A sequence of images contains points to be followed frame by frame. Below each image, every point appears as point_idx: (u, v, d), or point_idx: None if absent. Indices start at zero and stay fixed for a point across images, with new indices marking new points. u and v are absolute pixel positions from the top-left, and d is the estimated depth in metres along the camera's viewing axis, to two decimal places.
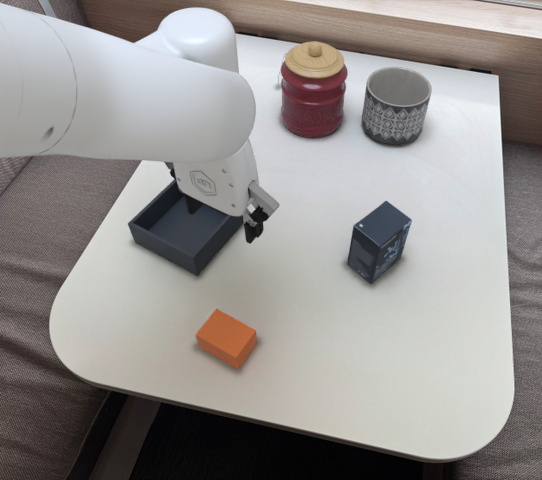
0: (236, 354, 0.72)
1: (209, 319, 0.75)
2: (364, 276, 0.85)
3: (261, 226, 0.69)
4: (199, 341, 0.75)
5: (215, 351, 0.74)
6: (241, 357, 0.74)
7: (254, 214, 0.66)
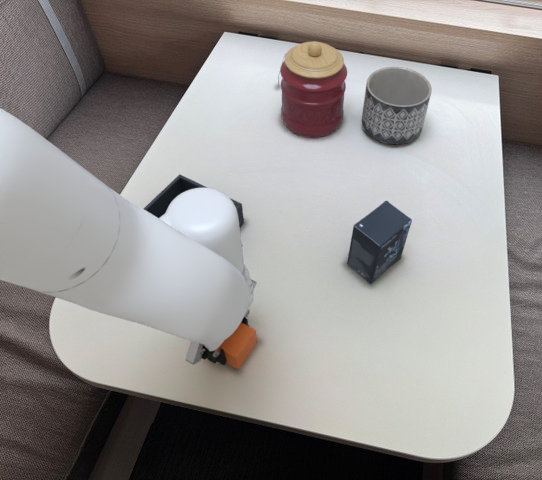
0: (236, 354, 0.72)
1: None
2: (364, 276, 0.85)
3: (212, 359, 0.73)
4: None
5: None
6: (241, 357, 0.74)
7: None
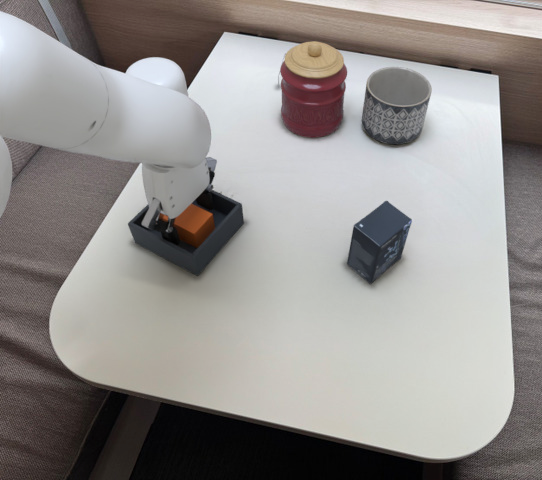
0: (194, 231, 0.84)
1: None
2: (364, 276, 0.85)
3: (167, 237, 0.83)
4: None
5: (177, 231, 0.86)
6: (199, 236, 0.86)
7: (160, 221, 0.81)
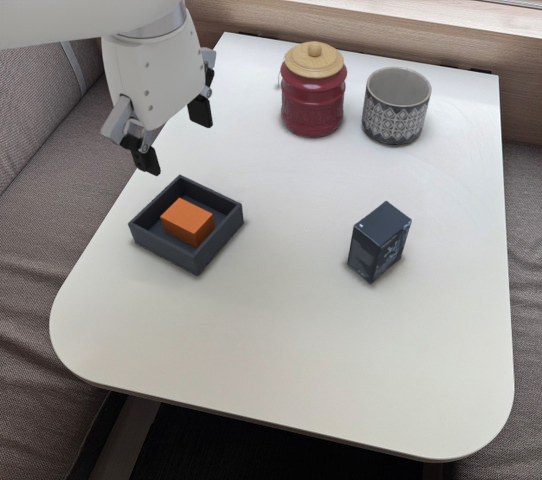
0: (194, 231, 0.84)
1: (172, 205, 0.87)
2: (364, 276, 0.85)
3: (141, 162, 0.57)
4: (164, 224, 0.87)
5: (177, 231, 0.86)
6: (199, 236, 0.86)
7: (129, 135, 0.55)
